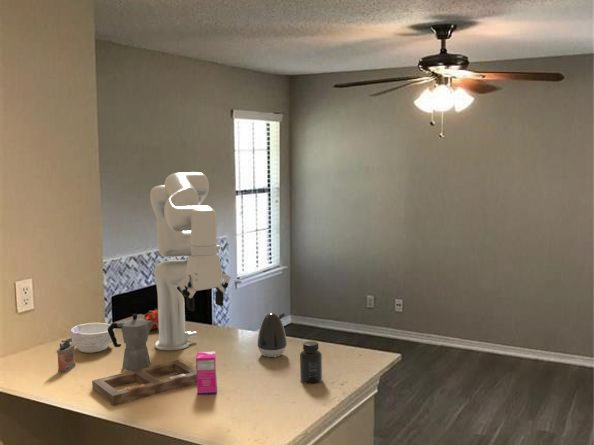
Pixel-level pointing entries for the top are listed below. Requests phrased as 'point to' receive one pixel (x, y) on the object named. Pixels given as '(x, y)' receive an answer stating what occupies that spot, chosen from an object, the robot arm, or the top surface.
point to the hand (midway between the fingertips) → (205, 307)
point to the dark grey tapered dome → (272, 336)
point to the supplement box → (206, 373)
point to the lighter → (66, 356)
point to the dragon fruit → (153, 318)
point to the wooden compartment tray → (144, 382)
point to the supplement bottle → (310, 363)
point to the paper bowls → (91, 337)
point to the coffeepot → (133, 342)
